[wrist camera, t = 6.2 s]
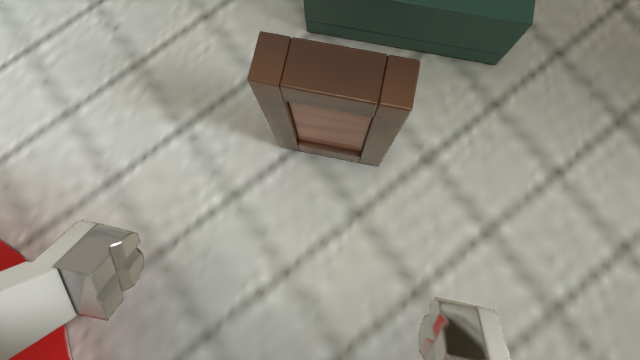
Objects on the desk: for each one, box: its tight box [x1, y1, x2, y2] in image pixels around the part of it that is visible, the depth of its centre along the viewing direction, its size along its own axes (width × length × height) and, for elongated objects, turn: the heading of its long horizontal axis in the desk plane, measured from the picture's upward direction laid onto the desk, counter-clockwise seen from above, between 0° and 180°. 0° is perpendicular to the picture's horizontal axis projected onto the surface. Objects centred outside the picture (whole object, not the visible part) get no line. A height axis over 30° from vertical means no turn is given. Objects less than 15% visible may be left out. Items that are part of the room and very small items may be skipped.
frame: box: [247, 31, 420, 166], centre depth 18 cm, size 2×6×9 cm, turn 78°
